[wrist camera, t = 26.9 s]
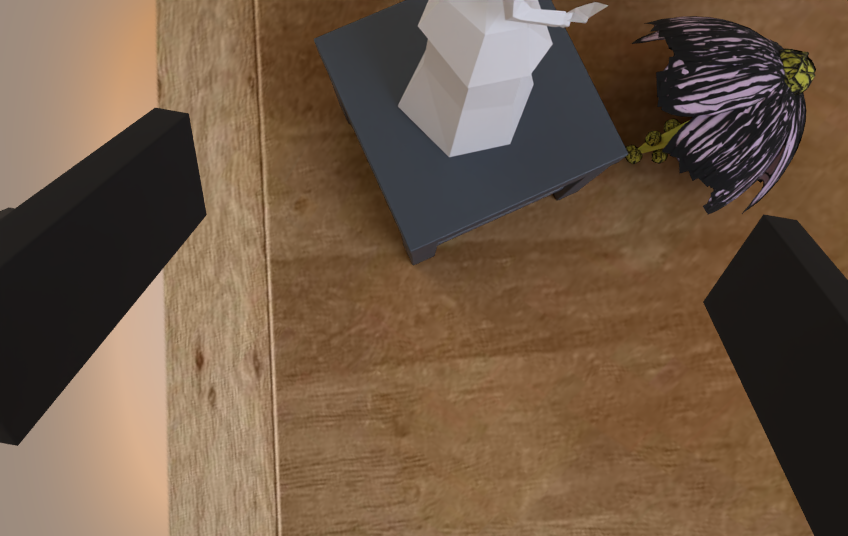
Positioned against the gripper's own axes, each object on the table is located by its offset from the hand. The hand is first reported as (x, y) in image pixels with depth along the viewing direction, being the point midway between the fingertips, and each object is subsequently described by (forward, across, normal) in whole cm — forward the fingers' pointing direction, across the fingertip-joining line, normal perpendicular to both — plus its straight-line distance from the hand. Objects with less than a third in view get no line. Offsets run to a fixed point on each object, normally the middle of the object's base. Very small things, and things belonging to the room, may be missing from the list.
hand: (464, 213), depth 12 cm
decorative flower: (+28, +17, -8) cm, 34 cm away
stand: (+25, 0, -10) cm, 27 cm away
